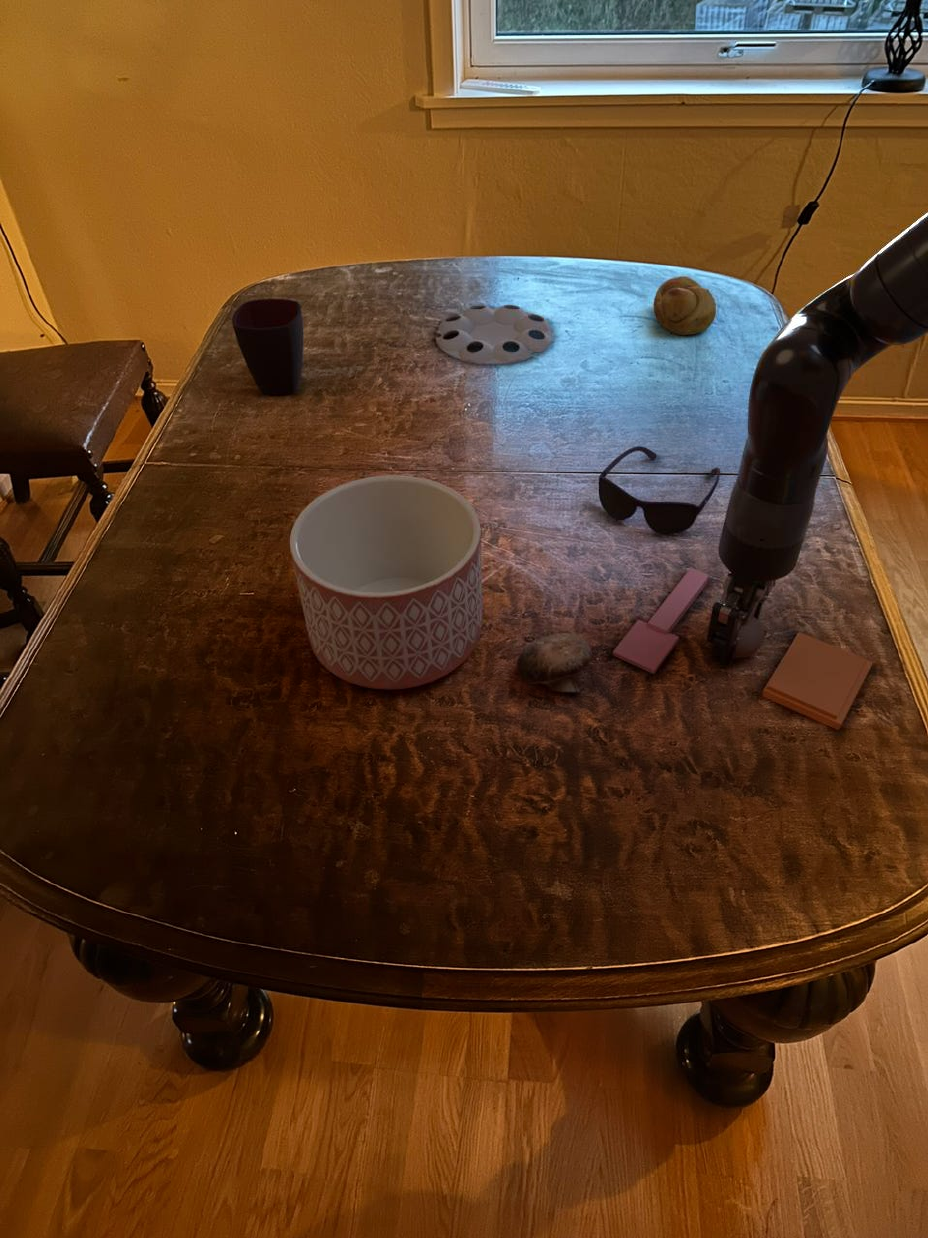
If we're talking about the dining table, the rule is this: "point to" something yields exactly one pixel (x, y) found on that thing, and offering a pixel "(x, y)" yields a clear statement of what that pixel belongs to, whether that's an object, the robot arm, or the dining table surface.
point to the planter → (390, 580)
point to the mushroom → (554, 661)
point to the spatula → (660, 626)
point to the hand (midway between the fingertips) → (733, 642)
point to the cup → (271, 343)
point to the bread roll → (684, 306)
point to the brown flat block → (817, 680)
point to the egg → (748, 638)
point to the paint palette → (493, 334)
